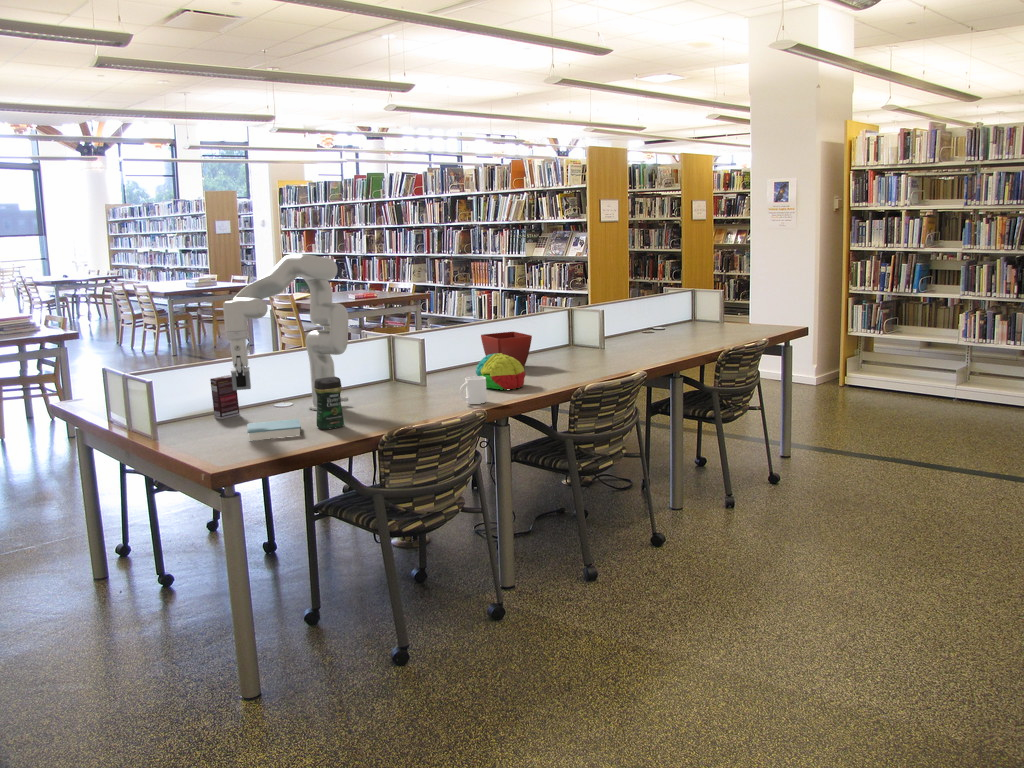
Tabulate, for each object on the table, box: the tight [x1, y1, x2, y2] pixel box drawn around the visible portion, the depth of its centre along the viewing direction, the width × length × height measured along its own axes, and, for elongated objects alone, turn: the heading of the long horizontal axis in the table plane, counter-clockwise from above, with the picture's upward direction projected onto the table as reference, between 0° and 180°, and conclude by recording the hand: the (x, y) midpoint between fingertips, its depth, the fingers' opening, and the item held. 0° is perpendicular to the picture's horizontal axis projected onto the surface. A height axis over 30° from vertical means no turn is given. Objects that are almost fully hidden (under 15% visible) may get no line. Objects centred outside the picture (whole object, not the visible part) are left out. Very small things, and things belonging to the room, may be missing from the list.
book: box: [246, 418, 302, 442], centre depth 299 cm, size 18×13×4 cm
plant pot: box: [480, 331, 533, 368], centre depth 414 cm, size 19×19×17 cm
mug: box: [459, 375, 488, 405], centre depth 338 cm, size 12×8×10 cm
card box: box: [230, 366, 252, 391], centre depth 302 cm, size 6×6×7 cm
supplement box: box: [209, 374, 240, 420], centre depth 328 cm, size 9×5×16 cm, turn 141°
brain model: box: [475, 353, 526, 391], centre depth 370 cm, size 24×19×15 cm
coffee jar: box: [314, 376, 345, 430], centre depth 306 cm, size 10×8×19 cm
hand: (241, 384), depth 302 cm, fingers closed on card box, 5 cm apart
